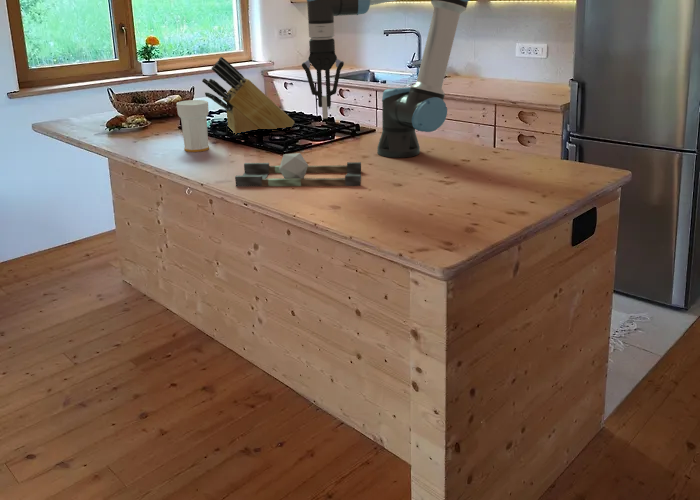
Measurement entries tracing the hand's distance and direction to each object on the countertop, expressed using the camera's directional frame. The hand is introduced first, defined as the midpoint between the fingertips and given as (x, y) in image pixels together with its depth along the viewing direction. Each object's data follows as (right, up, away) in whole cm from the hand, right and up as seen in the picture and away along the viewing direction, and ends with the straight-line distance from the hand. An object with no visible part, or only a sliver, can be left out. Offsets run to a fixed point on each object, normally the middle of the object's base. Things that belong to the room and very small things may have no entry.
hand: (325, 117), depth 215 cm
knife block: (-34, +8, +74) cm, 82 cm away
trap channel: (-8, -18, +5) cm, 21 cm away
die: (-10, -19, +4) cm, 22 cm away
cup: (-50, -4, +45) cm, 67 cm away
